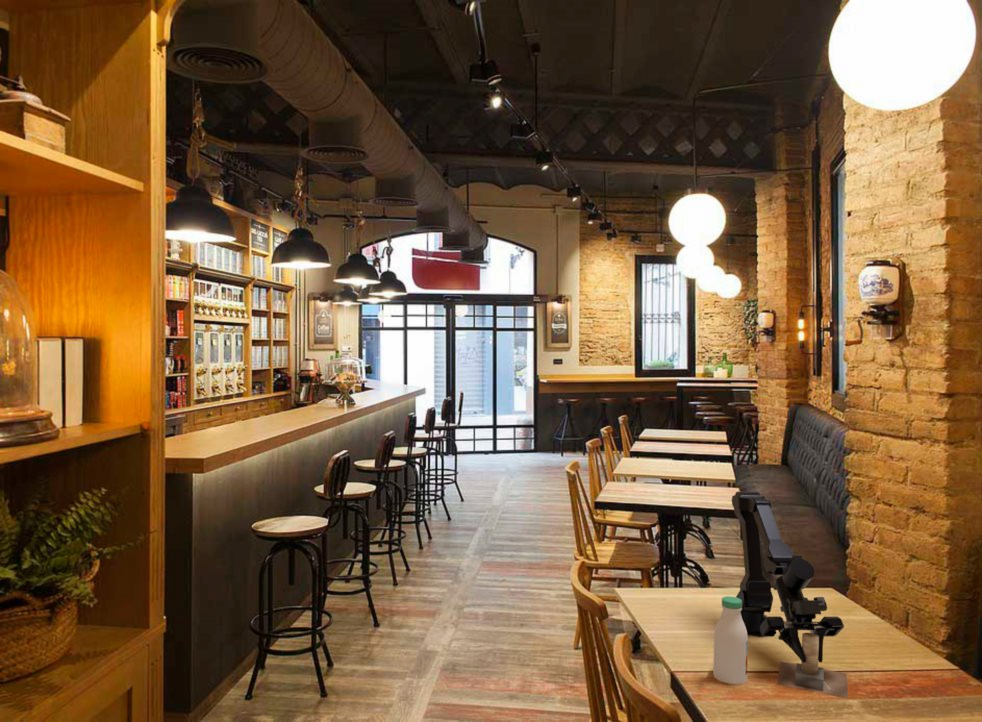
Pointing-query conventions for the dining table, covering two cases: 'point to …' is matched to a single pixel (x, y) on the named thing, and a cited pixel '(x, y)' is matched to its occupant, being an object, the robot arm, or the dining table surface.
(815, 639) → the tan and grey post
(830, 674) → the walnut board
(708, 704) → the dining table surface
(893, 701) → the dining table surface
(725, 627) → the milk bottle
